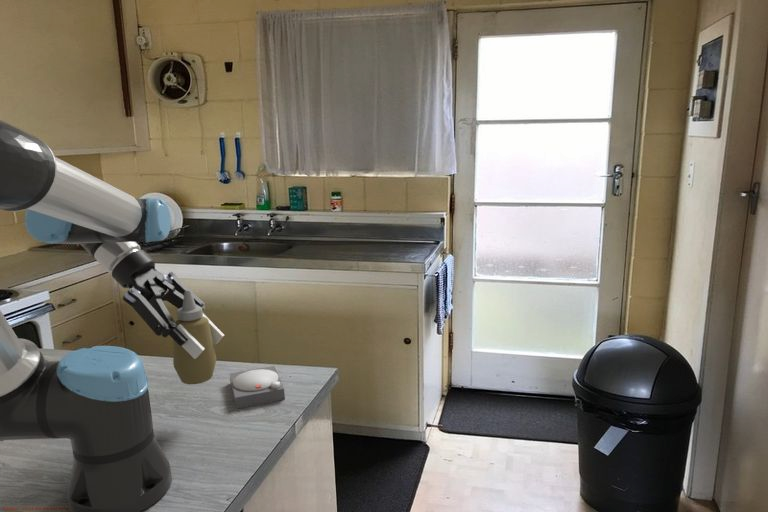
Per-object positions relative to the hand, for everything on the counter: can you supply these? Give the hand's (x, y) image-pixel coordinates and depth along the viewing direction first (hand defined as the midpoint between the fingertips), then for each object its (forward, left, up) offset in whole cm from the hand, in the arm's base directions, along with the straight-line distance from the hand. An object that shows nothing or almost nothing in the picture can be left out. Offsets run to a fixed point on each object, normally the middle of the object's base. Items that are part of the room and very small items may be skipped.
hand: (209, 346), depth 109 cm
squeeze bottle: (+2, +3, -7) cm, 8 cm away
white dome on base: (+8, -9, -15) cm, 19 cm away
